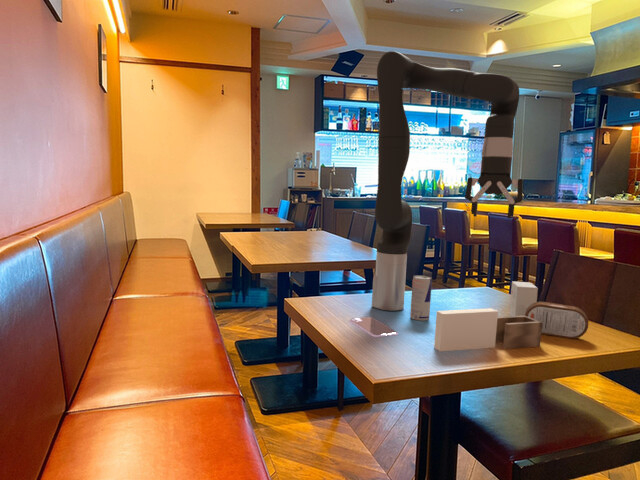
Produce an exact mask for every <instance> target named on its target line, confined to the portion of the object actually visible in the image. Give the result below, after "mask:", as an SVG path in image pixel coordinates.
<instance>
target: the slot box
mask: <svg viewBox="0 0 640 480" xmlns="http://www.w3.org/2000/svg"><path fill="white" fill-rule="evenodd" d="M542 323H543V322H540V321H538V320H535V319H533V318H530V317H528V316H510V315H509V316H498V318H497V329H496V340H495V343H497V342H502V343H503V345H502V348H503V349H505V350H509V349H511V350H512V349H521V348H533V347H541V341H542V334H541V333H542Z"/></svg>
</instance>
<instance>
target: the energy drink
mask: <svg viewBox="0 0 640 480" xmlns="http://www.w3.org/2000/svg"><path fill="white" fill-rule="evenodd" d="M411 283H412V284H411V300H410V315H409V317H410V318H411V319H413V320H414V321H421V322H424V321H428V320H429V319H430V314H431V313H430V311H431V302H432V301H431V299H432V285H433V284H432V283H433V280H432V277H431V276H427V275H418V274H417V275H413V278H412V282H411Z"/></svg>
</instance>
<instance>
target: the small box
mask: <svg viewBox="0 0 640 480" xmlns="http://www.w3.org/2000/svg"><path fill="white" fill-rule="evenodd" d="M510 288H511V290H510V302H509V303H510V304H509V313H508V314H509V316H525V312H526V310H527V308H528V307H529V306H530V305H531V304H533V303H535V302H538V301H537V300H538V291H539V288H538V287H537V286H536V285H535V284H534V283H532V282H529V281H528V282H527V281H515V280H514V281H513V280H512V282H511V287H510Z"/></svg>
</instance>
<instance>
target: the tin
mask: <svg viewBox="0 0 640 480" xmlns="http://www.w3.org/2000/svg"><path fill="white" fill-rule="evenodd" d="M525 316H528V317H530V318H533V319H535V320H538V321H540V322H543V323H542V333H541V335H545V336H553V337H557V338H562V339H563V338H564V339H571V340H572V339H573V340H574V339H578V338H581V337H582V336H584V335H585V334H586V333H587V332H588V329H589V317H588V316H587V314H586V312H584V310H582V309H581V308H579V307H578V306H574V305H567V304H560V303H554V302H548V301H547V302H546V301H537V302H535V303H533V304H531V305H530V306H529V307H528V308H527V310H526V312H525Z"/></svg>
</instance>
